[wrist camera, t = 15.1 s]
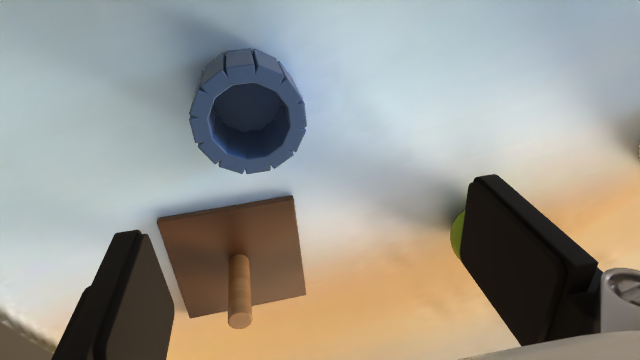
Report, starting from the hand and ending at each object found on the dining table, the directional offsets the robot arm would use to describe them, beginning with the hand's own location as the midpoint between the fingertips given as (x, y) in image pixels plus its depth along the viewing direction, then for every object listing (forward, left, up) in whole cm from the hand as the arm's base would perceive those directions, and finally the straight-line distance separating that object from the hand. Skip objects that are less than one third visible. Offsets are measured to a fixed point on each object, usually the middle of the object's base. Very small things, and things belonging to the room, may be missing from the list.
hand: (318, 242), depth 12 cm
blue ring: (+1, -2, -17) cm, 17 cm away
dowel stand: (+14, -4, -17) cm, 22 cm away
